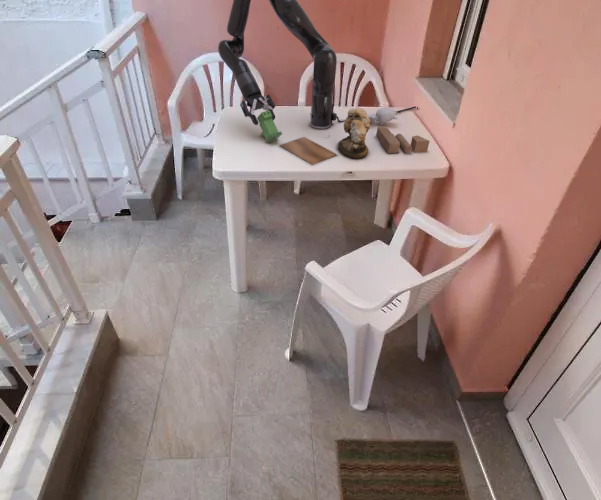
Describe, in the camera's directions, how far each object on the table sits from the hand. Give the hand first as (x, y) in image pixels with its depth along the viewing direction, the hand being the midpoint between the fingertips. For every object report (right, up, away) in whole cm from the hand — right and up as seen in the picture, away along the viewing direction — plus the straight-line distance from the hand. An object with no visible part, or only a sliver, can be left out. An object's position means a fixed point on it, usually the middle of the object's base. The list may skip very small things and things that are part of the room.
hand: (265, 121), depth 171 cm
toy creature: (+51, +5, +20) cm, 55 cm away
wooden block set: (+57, -8, +4) cm, 58 cm away
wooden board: (+17, -13, -3) cm, 22 cm away
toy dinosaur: (+1, -7, +3) cm, 7 cm away
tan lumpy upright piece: (+36, -12, -1) cm, 38 cm away
